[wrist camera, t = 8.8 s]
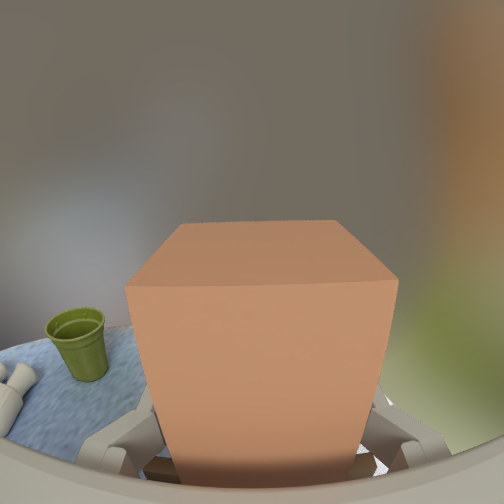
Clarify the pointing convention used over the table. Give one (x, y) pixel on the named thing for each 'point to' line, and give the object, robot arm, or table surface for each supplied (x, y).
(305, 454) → the marked block
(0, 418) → the binoculars
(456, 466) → the robot arm
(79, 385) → the table surface
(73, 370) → the plant pot
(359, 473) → the low board
